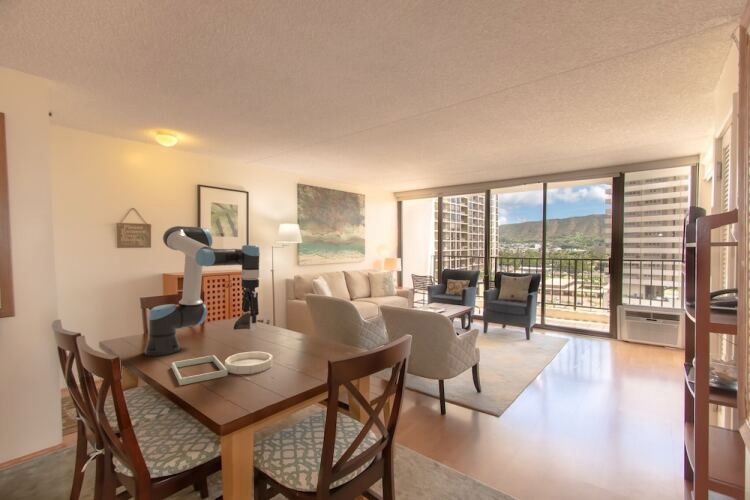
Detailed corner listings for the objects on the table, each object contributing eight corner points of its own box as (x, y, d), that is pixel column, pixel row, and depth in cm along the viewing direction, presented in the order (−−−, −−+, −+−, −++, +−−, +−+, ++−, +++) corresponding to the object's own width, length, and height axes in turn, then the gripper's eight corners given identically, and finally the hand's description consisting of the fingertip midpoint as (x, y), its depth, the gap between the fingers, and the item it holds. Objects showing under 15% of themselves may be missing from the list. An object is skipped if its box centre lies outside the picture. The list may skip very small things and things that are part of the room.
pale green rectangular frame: (171, 367, 153) (171, 362, 152) (214, 360, 163) (214, 355, 163) (179, 385, 134) (180, 378, 134) (227, 375, 144) (227, 369, 144)
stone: (239, 340, 150) (256, 324, 151) (227, 326, 151) (244, 310, 152) (248, 337, 160) (264, 323, 161) (236, 324, 161) (252, 309, 162)
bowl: (220, 363, 159) (220, 356, 158) (263, 356, 171) (263, 349, 171) (232, 377, 143) (232, 369, 143) (278, 367, 155) (278, 360, 155)
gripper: (235, 277, 163) (234, 324, 163) (249, 281, 145) (248, 334, 145) (251, 276, 167) (250, 322, 167) (267, 280, 150) (266, 331, 150)
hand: (249, 327), depth 156 cm, fingers closed on stone, 9 cm apart
